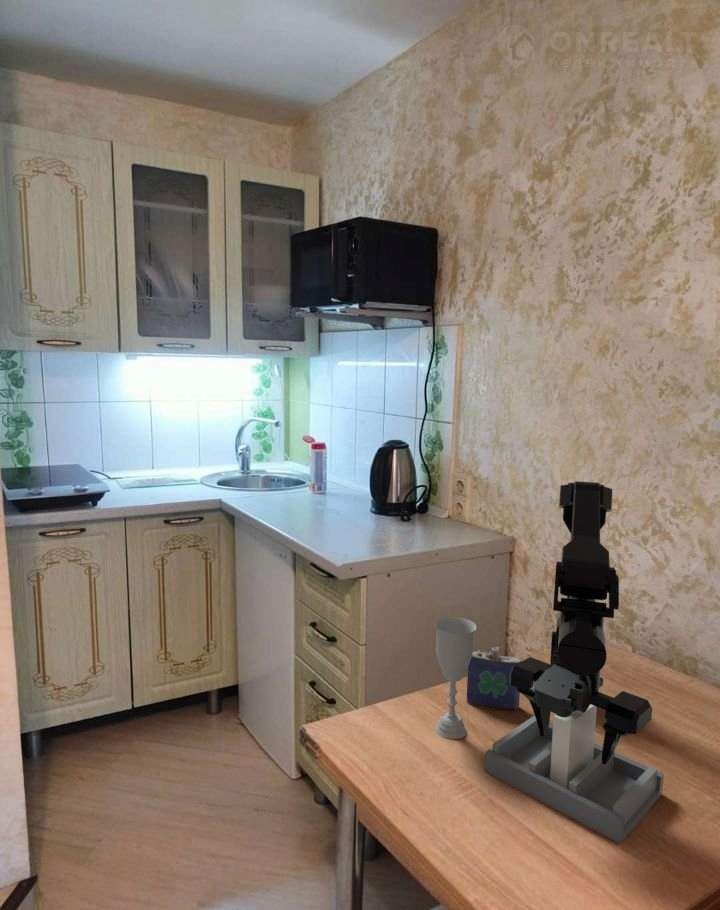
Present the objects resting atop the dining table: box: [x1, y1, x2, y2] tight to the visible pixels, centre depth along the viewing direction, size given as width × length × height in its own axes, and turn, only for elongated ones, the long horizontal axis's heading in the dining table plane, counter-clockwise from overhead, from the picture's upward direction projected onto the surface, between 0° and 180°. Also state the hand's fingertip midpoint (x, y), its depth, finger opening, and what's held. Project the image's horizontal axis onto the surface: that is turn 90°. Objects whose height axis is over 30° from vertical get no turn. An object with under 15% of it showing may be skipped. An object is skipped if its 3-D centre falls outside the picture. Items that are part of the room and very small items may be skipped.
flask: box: [466, 646, 522, 712], centre depth 110 cm, size 9×3×11 cm, turn 74°
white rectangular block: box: [550, 704, 598, 789], centre depth 89 cm, size 2×8×10 cm, turn 134°
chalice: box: [433, 616, 477, 740], centre depth 101 cm, size 7×7×18 cm
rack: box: [484, 714, 665, 845], centre depth 89 cm, size 20×14×4 cm
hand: (573, 748), depth 89 cm, fingers open, 9 cm apart
